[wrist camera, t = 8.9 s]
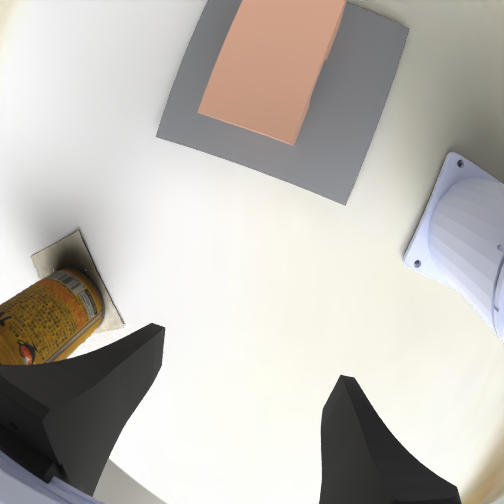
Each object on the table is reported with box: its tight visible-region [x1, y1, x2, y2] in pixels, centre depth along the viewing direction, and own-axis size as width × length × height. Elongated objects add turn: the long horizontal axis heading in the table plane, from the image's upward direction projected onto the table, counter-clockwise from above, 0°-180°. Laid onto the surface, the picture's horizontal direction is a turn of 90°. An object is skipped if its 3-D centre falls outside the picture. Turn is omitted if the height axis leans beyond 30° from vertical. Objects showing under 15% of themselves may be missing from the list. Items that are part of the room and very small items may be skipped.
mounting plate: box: [156, 0, 409, 206], centre depth 16 cm, size 12×12×1 cm
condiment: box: [0, 231, 124, 367], centre depth 18 cm, size 7×8×12 cm
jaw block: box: [197, 0, 347, 146], centre depth 13 cm, size 4×8×6 cm, turn 161°
